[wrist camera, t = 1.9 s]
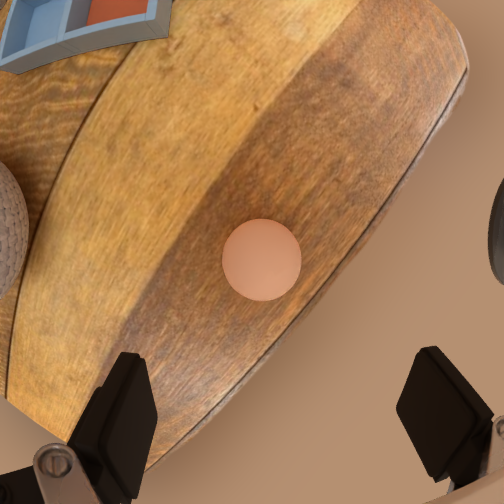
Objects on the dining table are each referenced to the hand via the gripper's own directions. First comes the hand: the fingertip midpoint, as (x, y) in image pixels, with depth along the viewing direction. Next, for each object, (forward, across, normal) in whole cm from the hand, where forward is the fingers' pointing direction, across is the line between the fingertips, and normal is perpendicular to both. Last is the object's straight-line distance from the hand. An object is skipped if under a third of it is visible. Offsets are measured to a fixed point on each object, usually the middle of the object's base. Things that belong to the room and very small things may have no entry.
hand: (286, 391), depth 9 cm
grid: (+18, +17, -27) cm, 36 cm away
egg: (+18, 0, 0) cm, 18 cm away
